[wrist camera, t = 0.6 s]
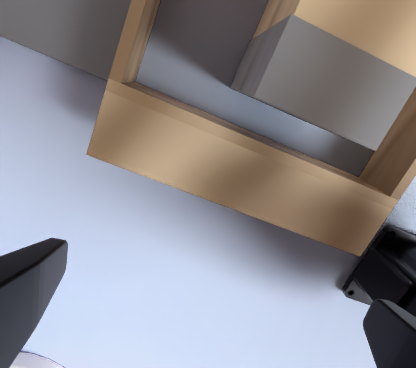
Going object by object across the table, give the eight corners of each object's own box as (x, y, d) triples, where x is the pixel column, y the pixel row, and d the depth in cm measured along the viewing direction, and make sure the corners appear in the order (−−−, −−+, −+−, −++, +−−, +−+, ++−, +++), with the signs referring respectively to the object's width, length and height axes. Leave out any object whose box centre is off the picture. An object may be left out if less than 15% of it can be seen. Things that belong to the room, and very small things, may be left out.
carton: (548, -110, 15) (644, -161, 12) (335, 229, 22) (360, 256, 18) (248, -322, 12) (266, -464, 9) (105, 140, 19) (86, 154, 16)
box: (384, -36, 16) (551, -134, 9) (303, 120, 19) (375, 151, 11) (302, -84, 15) (405, -239, 8) (229, 87, 18) (253, 96, 10)
